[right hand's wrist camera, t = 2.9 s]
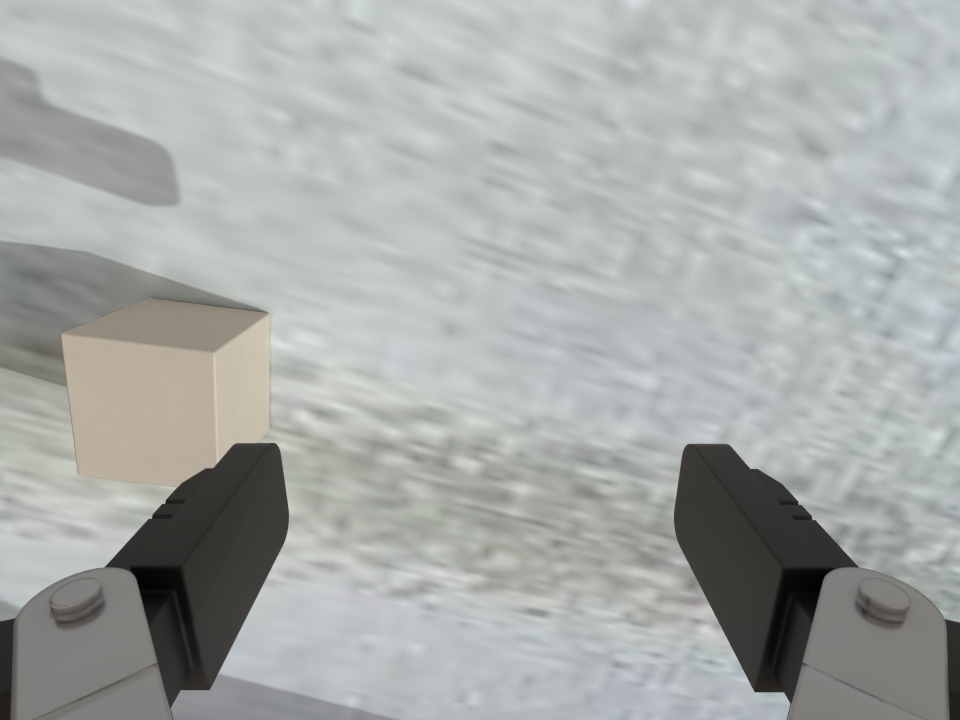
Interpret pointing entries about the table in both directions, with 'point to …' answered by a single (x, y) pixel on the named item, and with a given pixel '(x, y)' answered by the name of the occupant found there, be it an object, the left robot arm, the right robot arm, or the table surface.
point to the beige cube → (166, 389)
